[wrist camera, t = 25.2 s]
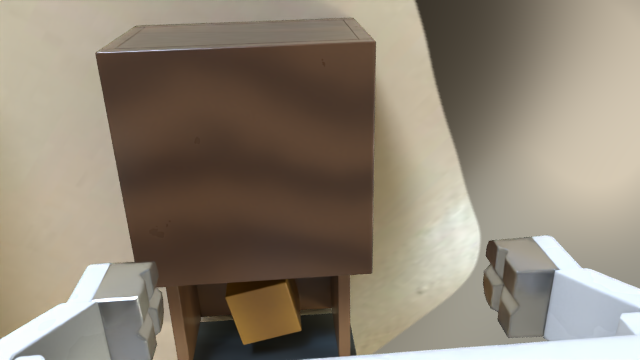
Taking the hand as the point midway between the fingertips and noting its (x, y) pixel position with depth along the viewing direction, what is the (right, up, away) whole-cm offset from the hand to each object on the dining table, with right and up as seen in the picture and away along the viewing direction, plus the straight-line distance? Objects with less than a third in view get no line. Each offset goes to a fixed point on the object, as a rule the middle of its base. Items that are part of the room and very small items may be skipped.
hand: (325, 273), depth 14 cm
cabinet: (-5, +6, +27) cm, 28 cm away
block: (-4, -5, +30) cm, 30 cm away
